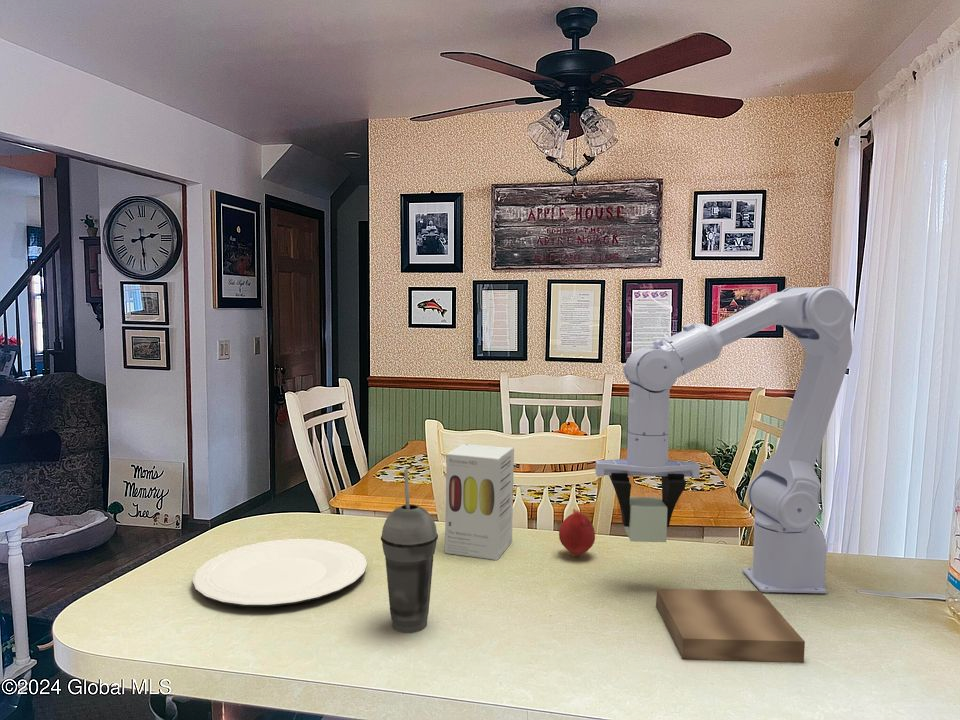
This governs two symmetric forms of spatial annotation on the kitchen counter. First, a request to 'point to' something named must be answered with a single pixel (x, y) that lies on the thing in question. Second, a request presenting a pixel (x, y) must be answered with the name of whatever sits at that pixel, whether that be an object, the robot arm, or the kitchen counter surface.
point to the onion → (577, 533)
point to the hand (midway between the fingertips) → (645, 524)
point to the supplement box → (479, 500)
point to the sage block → (647, 520)
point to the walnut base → (728, 626)
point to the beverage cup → (409, 563)
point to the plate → (279, 572)
